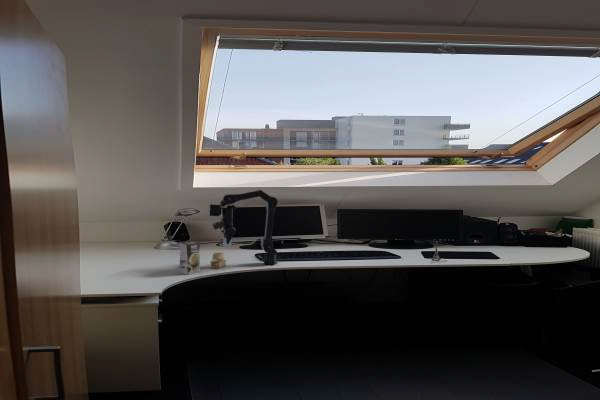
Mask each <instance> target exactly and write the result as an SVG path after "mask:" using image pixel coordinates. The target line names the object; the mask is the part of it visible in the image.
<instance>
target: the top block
mask: <svg viewBox="0 0 600 400" xmlns="http://www.w3.org/2000/svg"><path fill="white" fill-rule="evenodd" d="M224 254H225V253H224V252H214V253H212V261H213V262H222V261H223V260H225V259H224V258H225V257H224Z"/></svg>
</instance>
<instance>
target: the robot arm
mask: <svg viewBox="0 0 600 400" xmlns="http://www.w3.org/2000/svg"><path fill="white" fill-rule="evenodd" d="M254 198H260V199H262V201H264V202H265V207H266V219H265V228H264V229H265V230H264V236H263V237H261V238H260V241H261V242H260V245H261V249H262V250H263V251H264V252H265V253H264V255H263V263H262V265H267V266H275V265H277V264H278V261H277V252H278V251H277V250H276V249H275V248H274V242H273V241H274V240H273V228H274V216H275V212H276V209H277V206H278V203H279V202H278V199H277V198H276V197H275V196H272V195H269V194H268V193H266V192H264V191H263V190H262V189H256V190H252V191H247V192H241V193H225V194H224V195H223V196H222V199H221V201H220V202H219V204H217V203H216V204H215V203H214V204H213V203H210V204H209V209H208V216H209V217H220V216H221V215H222V216H221V219H220V220H218V221H214V222H213V223H211V226H212V228H213V230H214V231H216V230H218V229H219V231H220V232H221V233H222V235H223V238H226V242H227V244H229V243H230V241H231V242H232V238H233V236H234V235H235V234H236V233H237V229H236V228H235V227H234V225H233V223H234V222H233V221H234V217H233V213H234V210H233V209H235V210H236V209H237V206H236V205H235V204H234V203H237V202H240V201H245V200H249V199H254Z"/></svg>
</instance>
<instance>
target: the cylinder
mask: <svg viewBox="0 0 600 400" xmlns="http://www.w3.org/2000/svg"><path fill="white" fill-rule="evenodd" d="M222 246H224V247H230V246H232V240H231V241H230V243H229V244H227V242H226V238H224V237H223V238H222Z"/></svg>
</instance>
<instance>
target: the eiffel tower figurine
mask: <svg viewBox="0 0 600 400" xmlns="http://www.w3.org/2000/svg"><path fill="white" fill-rule="evenodd" d="M447 262H448V260H447V259H444V258H440V256H439V251H438V241H436V242H435V251H434V254H433V257H432V259H430V262H429V263H430V264H432V263H433V264H434V263H435V264H436V263H447Z"/></svg>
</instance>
